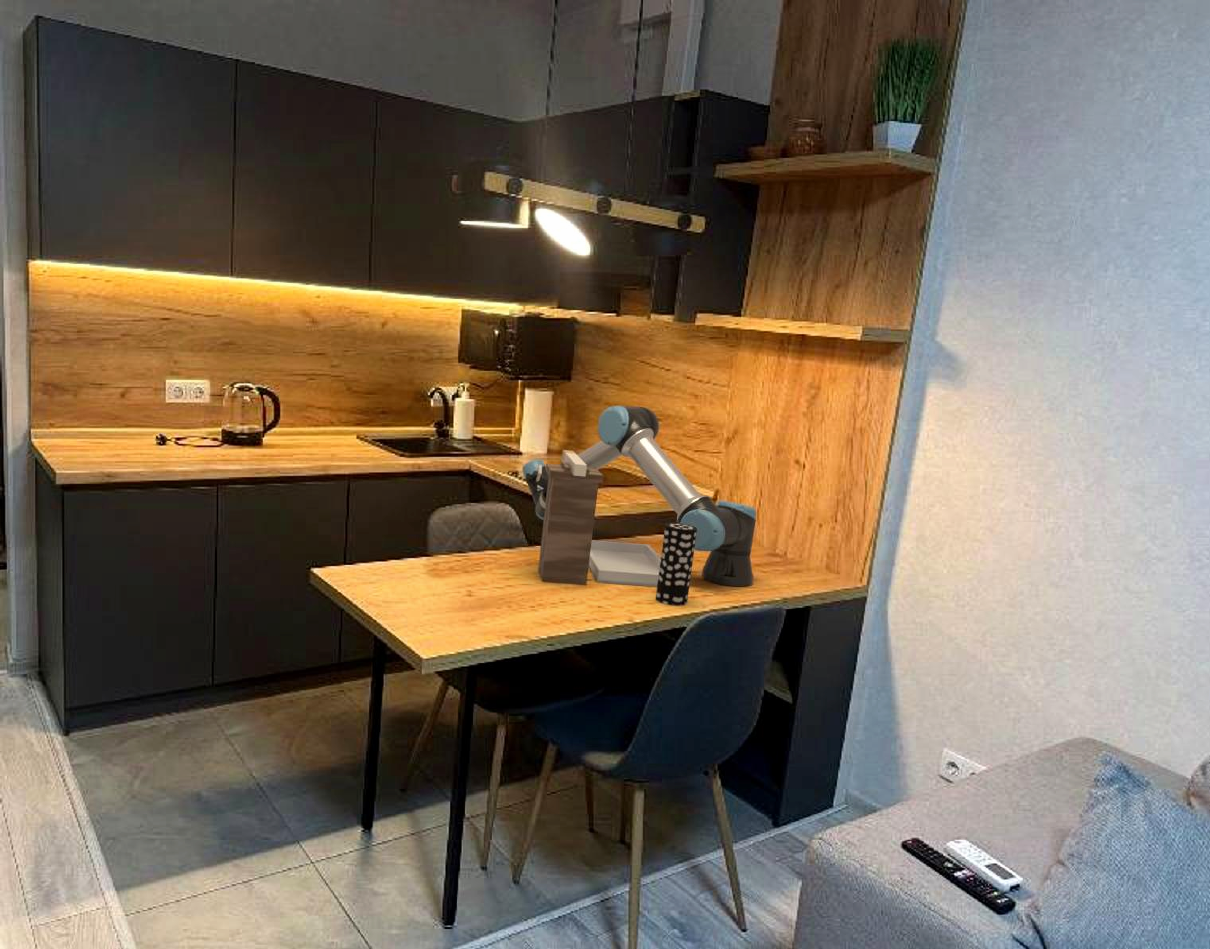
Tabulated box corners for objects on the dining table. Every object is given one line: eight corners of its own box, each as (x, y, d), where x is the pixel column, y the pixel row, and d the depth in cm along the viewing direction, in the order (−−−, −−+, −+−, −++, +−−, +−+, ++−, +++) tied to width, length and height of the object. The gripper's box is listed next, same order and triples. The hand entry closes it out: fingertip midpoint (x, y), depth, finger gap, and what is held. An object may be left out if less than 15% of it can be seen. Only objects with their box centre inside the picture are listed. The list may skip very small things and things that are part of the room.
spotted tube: (663, 594, 248) (672, 521, 245) (691, 601, 244) (701, 527, 242) (650, 600, 241) (660, 525, 238) (679, 607, 237) (690, 531, 234)
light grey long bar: (585, 476, 238) (586, 465, 238) (573, 475, 238) (575, 464, 237) (572, 461, 265) (573, 450, 265) (561, 460, 265) (562, 449, 264)
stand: (590, 585, 248) (604, 471, 243) (538, 581, 245) (551, 466, 241) (583, 573, 260) (596, 464, 256) (534, 569, 258) (546, 459, 254)
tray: (675, 588, 256) (676, 576, 255) (597, 582, 252) (598, 570, 251) (647, 555, 293) (648, 544, 292) (579, 549, 289) (580, 538, 288)
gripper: (591, 510, 290) (605, 487, 271) (512, 503, 286) (520, 479, 267) (592, 488, 293) (605, 463, 274) (514, 480, 289) (521, 455, 269)
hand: (563, 471), depth 270 cm, fingers open, 13 cm apart
